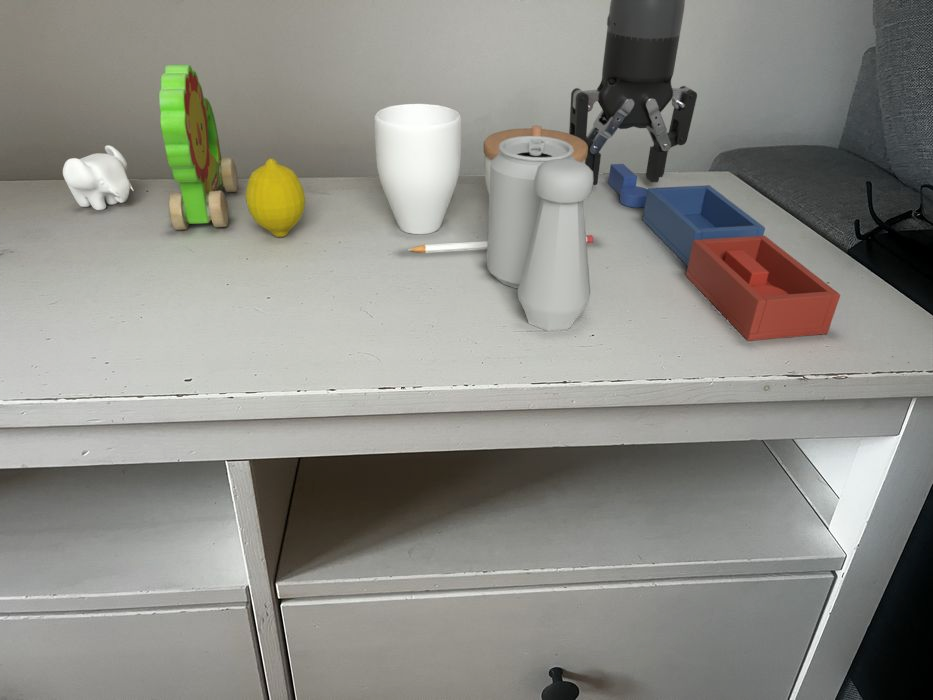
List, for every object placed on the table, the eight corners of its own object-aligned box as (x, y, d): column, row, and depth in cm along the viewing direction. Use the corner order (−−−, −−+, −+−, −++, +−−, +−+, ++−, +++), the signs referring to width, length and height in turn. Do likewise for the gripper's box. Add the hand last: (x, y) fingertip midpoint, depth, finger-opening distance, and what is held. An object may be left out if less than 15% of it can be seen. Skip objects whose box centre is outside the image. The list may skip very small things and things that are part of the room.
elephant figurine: (108, 222, 74) (93, 166, 71) (49, 210, 76) (32, 155, 73) (155, 200, 79) (143, 147, 76) (98, 189, 82) (84, 137, 78)
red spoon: (712, 275, 65) (717, 251, 64) (744, 273, 66) (751, 248, 64) (757, 319, 59) (764, 293, 57) (792, 316, 59) (800, 290, 58)
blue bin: (702, 216, 78) (709, 185, 76) (756, 262, 69) (765, 227, 67) (642, 220, 77) (647, 187, 75) (688, 267, 68) (695, 231, 66)
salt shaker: (595, 310, 61) (615, 158, 53) (574, 343, 56) (593, 182, 49) (530, 295, 63) (541, 147, 55) (505, 326, 58) (514, 169, 51)
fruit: (303, 221, 75) (295, 145, 71) (313, 243, 71) (305, 163, 66) (249, 228, 73) (237, 150, 69) (255, 250, 69) (243, 169, 65)
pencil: (593, 243, 72) (593, 237, 72) (407, 255, 69) (407, 248, 69) (590, 240, 73) (591, 234, 72) (406, 251, 70) (406, 244, 69)
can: (480, 289, 63) (484, 155, 57) (491, 253, 70) (497, 128, 63) (566, 297, 62) (580, 161, 56) (569, 260, 69) (583, 134, 62)
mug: (462, 242, 72) (464, 126, 65) (378, 243, 71) (372, 126, 65) (455, 198, 82) (456, 94, 75) (381, 198, 81) (376, 94, 75)
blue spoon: (601, 183, 86) (604, 164, 85) (626, 182, 87) (629, 163, 86) (625, 208, 80) (628, 187, 79) (652, 207, 80) (656, 186, 79)
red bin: (755, 270, 67) (764, 235, 66) (827, 334, 58) (840, 294, 56) (685, 275, 66) (693, 239, 64) (747, 340, 57) (758, 301, 55)
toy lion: (193, 187, 83) (165, 46, 75) (241, 185, 84) (219, 45, 75) (166, 245, 70) (129, 81, 61) (224, 242, 70) (196, 80, 62)
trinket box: (460, 210, 78) (462, 123, 73) (530, 189, 84) (536, 107, 79) (530, 243, 72) (537, 149, 67) (600, 217, 78) (612, 129, 73)
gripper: (589, 35, 71) (572, 196, 80) (724, 34, 73) (693, 190, 82) (567, 23, 77) (553, 173, 86) (692, 22, 80) (666, 168, 89)
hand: (621, 181), depth 84 cm, fingers open, 7 cm apart
